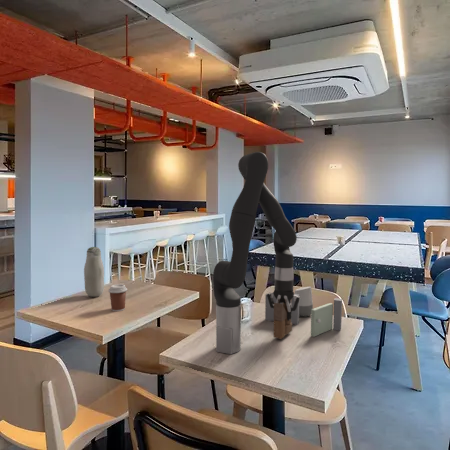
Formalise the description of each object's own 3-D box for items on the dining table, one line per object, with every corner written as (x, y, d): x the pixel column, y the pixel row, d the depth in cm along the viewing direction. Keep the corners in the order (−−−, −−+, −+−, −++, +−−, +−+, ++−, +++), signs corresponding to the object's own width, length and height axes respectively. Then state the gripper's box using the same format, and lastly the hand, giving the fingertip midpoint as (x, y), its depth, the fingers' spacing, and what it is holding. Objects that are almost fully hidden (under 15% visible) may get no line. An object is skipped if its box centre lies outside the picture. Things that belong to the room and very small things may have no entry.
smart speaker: (298, 310, 191) (299, 282, 190) (316, 314, 185) (316, 285, 184) (289, 315, 184) (289, 286, 183) (306, 319, 178) (307, 289, 177)
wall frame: (340, 330, 164) (341, 300, 163) (264, 320, 177) (265, 292, 176) (341, 328, 167) (342, 298, 166) (266, 318, 180) (267, 291, 178)
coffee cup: (130, 306, 197) (129, 283, 196) (123, 312, 188) (123, 288, 187) (113, 306, 198) (112, 283, 197) (105, 311, 189) (105, 287, 188)
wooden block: (273, 337, 154) (273, 293, 152) (284, 329, 163) (285, 287, 161) (281, 339, 152) (282, 294, 150) (292, 331, 161) (293, 288, 159)
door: (335, 329, 165) (336, 304, 164) (317, 337, 156) (317, 311, 155) (329, 327, 167) (329, 302, 166) (310, 335, 158) (311, 309, 157)
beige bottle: (81, 298, 213) (79, 247, 210) (93, 293, 223) (91, 245, 220) (97, 299, 210) (95, 248, 208) (107, 294, 220) (106, 246, 217)
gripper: (264, 278, 155) (263, 319, 156) (299, 281, 149) (298, 324, 151) (269, 274, 162) (268, 314, 163) (303, 277, 156) (302, 319, 158)
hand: (283, 319), depth 157 cm, fingers closed on wooden block, 4 cm apart
